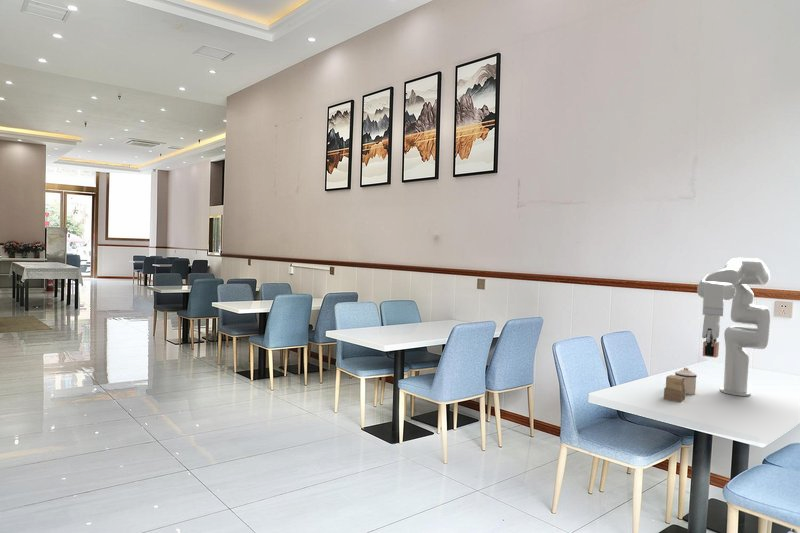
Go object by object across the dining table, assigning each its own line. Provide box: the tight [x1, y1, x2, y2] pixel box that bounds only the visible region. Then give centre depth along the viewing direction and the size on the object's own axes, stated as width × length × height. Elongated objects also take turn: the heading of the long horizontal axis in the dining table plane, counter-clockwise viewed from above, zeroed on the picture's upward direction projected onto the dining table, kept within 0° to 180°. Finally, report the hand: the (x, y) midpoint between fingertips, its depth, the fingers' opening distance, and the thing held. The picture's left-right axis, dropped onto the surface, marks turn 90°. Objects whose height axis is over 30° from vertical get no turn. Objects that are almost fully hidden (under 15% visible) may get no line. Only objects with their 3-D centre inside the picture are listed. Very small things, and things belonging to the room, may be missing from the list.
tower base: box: [663, 386, 686, 403], centre depth 244 cm, size 7×7×5 cm
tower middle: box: [665, 374, 685, 391], centre depth 244 cm, size 6×6×5 cm
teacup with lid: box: [673, 367, 697, 396], centre depth 259 cm, size 12×9×12 cm
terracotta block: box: [702, 340, 720, 358], centre depth 233 cm, size 5×5×6 cm
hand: (710, 354), depth 233 cm, fingers closed on terracotta block, 5 cm apart
